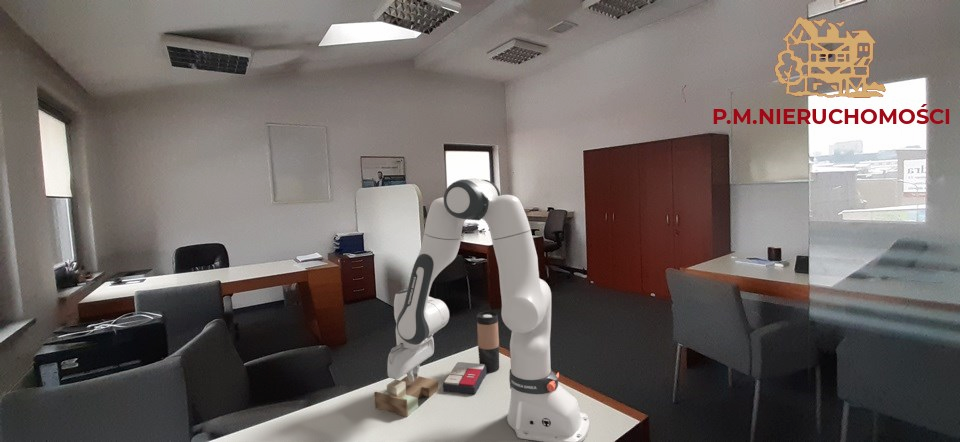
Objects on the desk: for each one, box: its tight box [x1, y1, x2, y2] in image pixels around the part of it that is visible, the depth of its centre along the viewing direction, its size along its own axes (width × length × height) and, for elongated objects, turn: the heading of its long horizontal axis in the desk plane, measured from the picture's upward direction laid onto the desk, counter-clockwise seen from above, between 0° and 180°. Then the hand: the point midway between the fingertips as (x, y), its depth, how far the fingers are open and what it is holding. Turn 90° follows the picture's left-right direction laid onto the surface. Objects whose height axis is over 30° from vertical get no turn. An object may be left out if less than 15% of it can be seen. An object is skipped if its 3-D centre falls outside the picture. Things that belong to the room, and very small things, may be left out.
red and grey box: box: [442, 361, 488, 396], centre depth 133 cm, size 11×4×15 cm
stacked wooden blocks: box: [373, 374, 440, 418], centre depth 124 cm, size 12×17×5 cm
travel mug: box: [476, 311, 500, 374], centre depth 142 cm, size 8×8×20 cm
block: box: [386, 379, 406, 398], centre depth 120 cm, size 4×4×4 cm
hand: (413, 379), depth 126 cm, fingers closed
